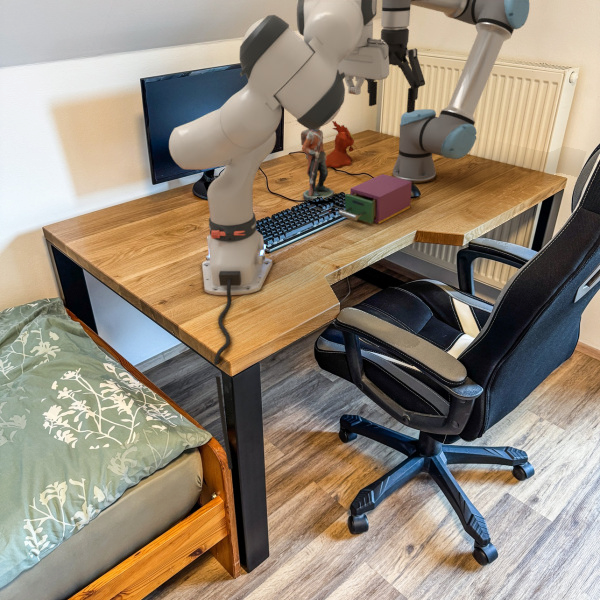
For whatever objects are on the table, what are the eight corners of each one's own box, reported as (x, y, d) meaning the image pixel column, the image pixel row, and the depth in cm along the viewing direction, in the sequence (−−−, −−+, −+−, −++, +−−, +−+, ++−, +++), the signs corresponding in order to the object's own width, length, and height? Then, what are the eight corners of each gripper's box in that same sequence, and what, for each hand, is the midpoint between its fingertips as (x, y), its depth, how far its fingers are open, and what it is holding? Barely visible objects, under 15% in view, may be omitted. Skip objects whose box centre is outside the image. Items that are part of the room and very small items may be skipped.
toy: (361, 162, 218) (362, 123, 210) (321, 170, 212) (321, 130, 204) (345, 154, 228) (345, 116, 220) (306, 161, 221) (305, 123, 213)
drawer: (359, 229, 165) (359, 208, 161) (333, 220, 171) (333, 200, 168) (400, 208, 177) (401, 188, 173) (374, 200, 183) (375, 181, 180)
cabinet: (378, 223, 170) (379, 197, 165) (349, 214, 177) (350, 188, 172) (410, 207, 180) (411, 181, 175) (381, 199, 187) (382, 173, 182)
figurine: (331, 204, 184) (330, 110, 168) (299, 202, 186) (296, 110, 170) (336, 192, 193) (335, 102, 177) (306, 191, 195) (303, 102, 179)
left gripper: (396, 38, 138) (393, 96, 146) (333, 33, 151) (333, 87, 158) (380, 41, 134) (378, 101, 142) (317, 36, 147) (318, 91, 154)
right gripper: (442, 29, 147) (435, 112, 158) (367, 24, 162) (365, 100, 174) (426, 32, 143) (419, 117, 154) (350, 27, 158) (349, 105, 169)
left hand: (354, 93), depth 150 cm, fingers closed
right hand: (391, 108), depth 164 cm, fingers open, 13 cm apart
